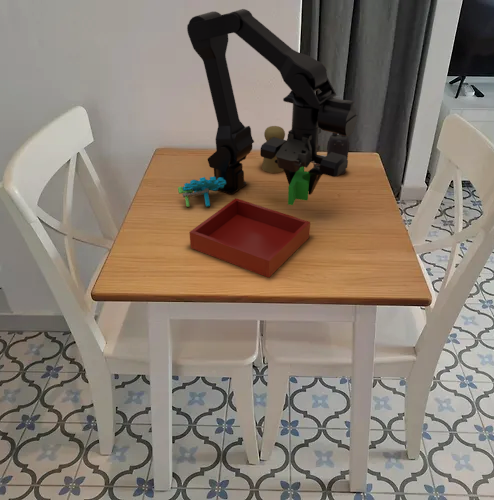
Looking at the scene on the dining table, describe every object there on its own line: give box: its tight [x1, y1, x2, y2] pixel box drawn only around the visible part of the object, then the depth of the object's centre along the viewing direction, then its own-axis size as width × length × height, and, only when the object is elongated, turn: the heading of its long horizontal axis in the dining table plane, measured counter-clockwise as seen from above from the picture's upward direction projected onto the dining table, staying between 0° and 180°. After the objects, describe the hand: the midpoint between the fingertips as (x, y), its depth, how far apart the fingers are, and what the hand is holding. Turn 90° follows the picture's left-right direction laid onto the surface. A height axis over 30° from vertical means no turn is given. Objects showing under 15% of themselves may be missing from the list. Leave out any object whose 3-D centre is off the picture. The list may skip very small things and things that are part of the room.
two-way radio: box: [326, 132, 350, 175], centre depth 137 cm, size 6×4×15 cm
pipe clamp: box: [287, 167, 310, 206], centre depth 122 cm, size 11×4×5 cm, turn 165°
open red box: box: [189, 197, 311, 278], centre depth 113 cm, size 19×17×4 cm
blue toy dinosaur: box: [177, 175, 226, 208], centre depth 126 cm, size 11×6×10 cm
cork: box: [261, 125, 286, 174], centre depth 140 cm, size 6×6×11 cm
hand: (301, 191), depth 123 cm, fingers closed on pipe clamp, 4 cm apart
